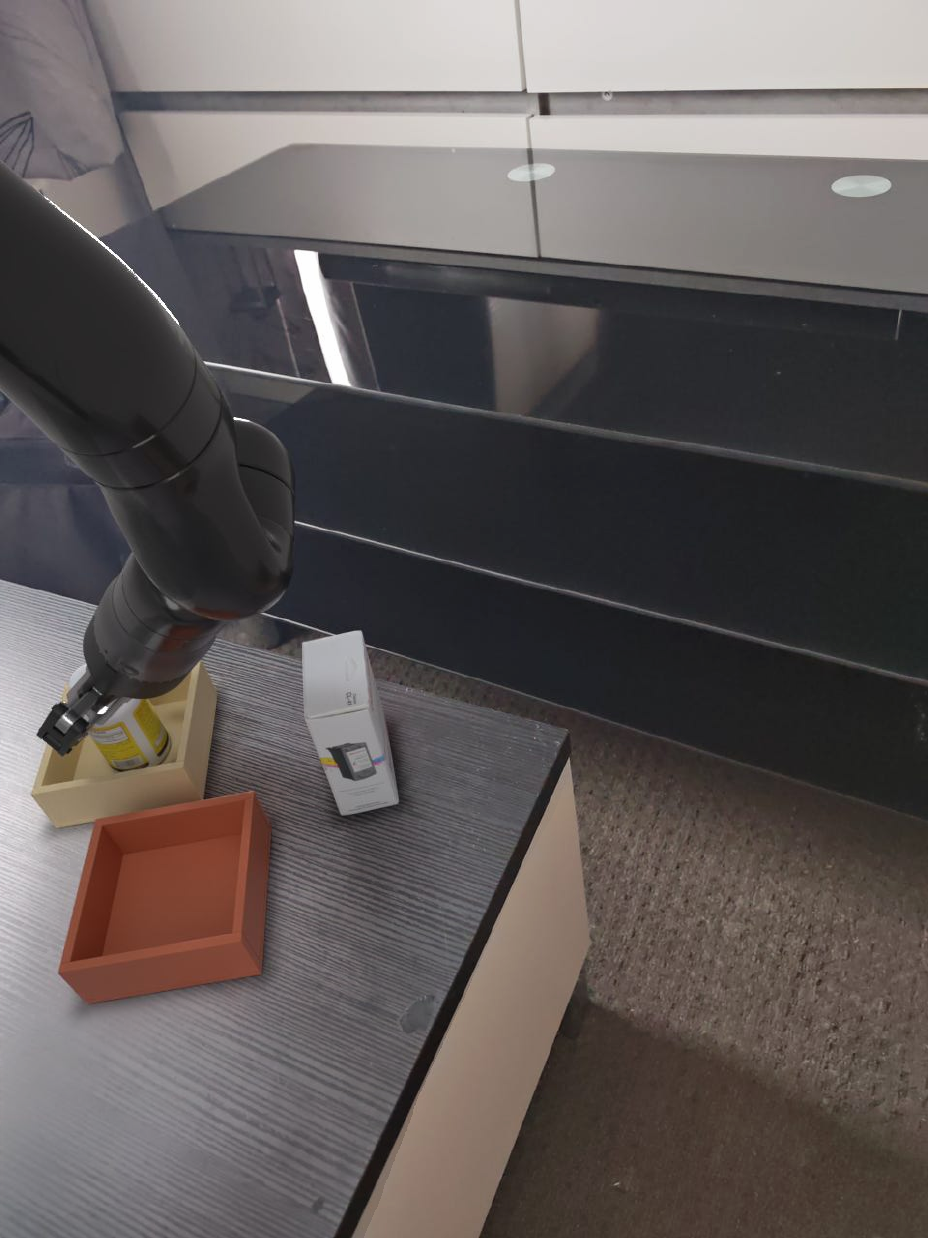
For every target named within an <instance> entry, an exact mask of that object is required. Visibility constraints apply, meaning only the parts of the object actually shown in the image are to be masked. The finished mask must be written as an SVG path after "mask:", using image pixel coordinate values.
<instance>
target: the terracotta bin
mask: <svg viewBox="0 0 928 1238" xmlns="http://www.w3.org/2000/svg"><path fill="white" fill-rule="evenodd" d="M272 829H273V828H272V823H271V821H270V820H269V818H268V816H267V814H266V812H265V810H264V808H263V806H262V804H261V802H260V799H259V798H258V796H257V794H256V792H255V790H252V791H245V792H240V793H235V794H234V793H233V794H228V795H223V796H217V797H213V798H207V799H203V800H201V801H195V802H190V803H184V804H178V805H173V806H167V807H162V808H156V809H151V810H145V811H139V812H134V813H128V814H123V815H117V816H111V817H106V818H100V819H96V820H95V821H94V822H93V827H92V831H91V836H90V840H89V843H88V847H87V852H86V855H85V858H84V859H85V860H84V864H83V868H82V872H81V876H80V880H79V884H78V888H77V892H76V896H75V899H74V900H75V901H74V905H73V908H72V913H71V917H70V921H69V924H68V930H67V933H66V938H65V942H64V945H63V950H62V954H61V958H60V962H59V966H58V970H57V974H58V975H59V976H60V978H61V979H62V980H64V981H65V983H66V984H67V985H68V986H69V987H70V988H71V989H72V990H73V991H74V992H75V993H76V995H78V996H79V997H80V999H81V1000H82V1001H83V1002H84V1003H85V1004H86V1005H91V1004H97V1003H103V1002H104V1003H105V1002H108V1001H114V1000H119V999H125V998H132V997H138V996H143V995H150V994H155V993H160V992H166V991H171V990H172V991H173V990H177V989H183V988H184V989H185V988H189V987H195V986H201V985H207V984H212V983H218V982H224V981H229V980H236V979H241V978H247V977H252V976H258V975H262V974H263V962H264V961H263V960H264V944H265V929H266V916H267V915H266V914H267V900H268V887H269V871H270V856H271V842H272Z"/></svg>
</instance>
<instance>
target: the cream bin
mask: <svg viewBox="0 0 928 1238" xmlns="http://www.w3.org/2000/svg"><path fill="white" fill-rule="evenodd" d="M69 691H70V687H69V682H68V683H65V685H64V688H63V691H62V695H61V697H60V701H59V703H60V702H61V701H63V702H65V703H66V704H67V703H68V700H67V697H66V695H67V693H68V692H69ZM218 696H219V693H218V691H217V689H216V687H215V684H214V683H213V680H212V679H211V677H210V675H209V673H208V671H207V668H206V667H205V665H204V662H203V660H202V659H201V660H200V661H199V662H198V664H197V665H196V666H195V667H194V668H193V669H192V670H191V672H190V673H189V674H188V675H187V676H186V677H185V679H184V680H183V681H182V682H181V683H180V684H179V685H178V686H177V687H176V688H174V689H173V690H171V691H170V692H168V693H166V694H164V695H161V696H159V697H155V698H150V699H148V700H149V702H150V703H151V705H152V707H153V708H154V710H155V712H156V714H157V716H158V717H159V719H160V721H161V722H162V724H163V725H164V727H165V729H166V731H167V732H168V734H169V737H170V748H169V751H168V753H167V755H166V756H165V758H164V759H163V760H162V761H161V762H160V763H159V764H158V765H157V766H153V767H147V768H142V769H136V770H130V771H125V772H119V773H117V772H116V771H114V770H113V769H112V767H111V766H110V765H109V763H108V762H107V760H106V759H105V757H104V756H103V755H102V753H101V752H100V750H99V749H98V747H97V746H96V744H95V743H94V741H93V740H92V738H91V737H90V735H89V734H88V736H87V737H86V738H85V739H83V740H82V741H81V742H80V743H79V744H78V745H77V746H73V747H72V749H73V750H72V751H71V752H70V753H69V754H68V755H67V754H65V755H64V756H63V757H62V756H61V755H59V754H58V752H57V751H56V750H55V749H53V748H52V747H51V746H50V745H49V744H47V743H46V745H45V747H44V752H43V755H42V758H41V760H40V765H39V767H38V770H37V773H36V777H35V781H34V782H33V786H32V789H31V792H30V796H31V797H32V799H33V800H34V801H35V802H36V804H37V805H38V806H39V807H40V809H41V810H42V812H43V813H44V814H45V815H46V817H47V818H48V819H49V821H50V822H51V823H52V824H53V826H54V827H55V828H56V829H62V828H67V827H72V826H76V825H82V824H88V823H95V820H96V819H100V818H106V817H111V816H117V815H123V814H128V813H134V812H139V811H145V810H151V809H156V808H162V807H167V806H173V805H178V804H184V803H190V802H195V801H201V800H204V797H205V790H206V781H207V775H208V768H209V760H210V754H211V752H210V751H211V745H212V738H213V732H214V726H215V725H214V724H215V717H216V712H217V711H216V710H217V704H218V703H217V702H218Z"/></svg>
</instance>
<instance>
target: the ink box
mask: <svg viewBox="0 0 928 1238" xmlns="http://www.w3.org/2000/svg"><path fill="white" fill-rule="evenodd" d="M365 641H366V640H365V638H364V633H363V631H362V630H353V631H348V632H343V633H339V634H334V635H329V636H326V637H319V638H315V639H309V640H306V641H303V642H302V643H301V659H302V660H301V661H302V663H301V664H302V693H303V694H302V695H303V716H304V721H305V723H306V726H307V729H308V731H309V734H310V736H311V740H312V742H313V745H314V748H315V750H316V753H317V755H318V758H319V761H320V763H321V766H322V768H323V770H324V774H325V776H326V779H327V782H328V784H329V788H330V790H331V792H332V796H333V798H334V800H335V803H336V806H337V809H338V811H339V814H340V816H341V817H342V816H349V815H350V816H351V815H356V814H359V813H364V812H369V811H373V810H377V809H383V808H387V807H390V806H395V805H398V804H399V803H400V798H399V791H398V786H397V785H398V783H397V780H396V779H397V778H396V772H395V766H394V760H393V755H392V749H391V742H390V735H389V730H388V724H387V720H386V715H385V712H384V708H383V705H382V701H381V697H380V694H379V690H378V687H377V686H378V685H377V682H376V679H375V675H374V671H373V667H372V664H371V661H370V657H369V652H368V648H367V644H366V642H365Z"/></svg>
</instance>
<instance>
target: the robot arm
mask: <svg viewBox="0 0 928 1238" xmlns="http://www.w3.org/2000/svg"><path fill="white" fill-rule="evenodd" d="M0 392H1V393H2V394H3V395H4V396H5V397H6V398H7V399H8V400H9V401H11V403H12V404H14V405H15V407H16V408H17V409H19V410H20V411H21V412H22V413H23V414H24V415H25V416H26V417H27V418H28V419H29V420H30V421H31V422H32V423H33V424H34V425H35V426H36V427H37V428H38V429H39V430H40V431H41V432H42V433H43V434H44V435H45V436H46V437H47V439H49V440H50V441H51V442H52V443H53V444H54V445H55V446H56V447H57V448H58V449H60V451H61V452H62V453H63V454H65V455H66V456H67V457H68V458H69V459H70V460H71V462H72V463H74V464H75V465H76V466H77V467H78V469H80V470H81V471H82V472H83V473H84V474H85V475H86V476H87V477H88V478H89V479H91V481H92V482H93V483H94V484H96V485H97V486H98V487H99V488H100V490H101V492H102V494H103V497H104V499H105V501H106V504H107V506H108V508H109V511H110V513H111V516H113V519H114V521H115V523H116V524H117V526H118V528H119V530H120V532H121V533H122V536H123V537H124V539H125V541H126V543H127V544H128V546H129V548H130V551H131V552H130V554H129V555H128V557H127V559H126V561H125V563H124V565H123V567H122V569H121V571H120V573H119V574H118V575H117V576H116V577H115V578H114V579H113V580H112V581H111V582H110V584H109V585H108V587H107V588H106V589H105V592H104V594H103V595H102V597H101V600H100V601H99V603H98V605H97V607H96V609H95V611H94V613H93V615H92V617H91V619H90V621H89V623H88V624H87V626H86V629H85V632H84V634H83V635H84V636H83V640H82V651H83V652H82V653H83V657H84V661H85V664H87V666H86V672H85V674H84V675H83V676H82V677H81V678H80V679H79V680H78V682H77V683H76V684H75V685H74V686H73V687H72V688H71V689H70V691H69V692H68V693H67V695H66V697H67V700H68V703H67V704H66V703H65V702H63V701H61V700H60V701H61V702H60V701H59V702H58V703H57V702H56V703H55V704H54V705H53V706H52V707H51V710H50V712H49V713H48V714H47V716H46V718H45V719H44V720H43V723H42V725H41V726H40V727H39V728H38V729H37V730H38V731H37V732H36V734H35V735H36V737H37V738H39V739H40V740H42V741H43V742H44V743H46V745H47V744H49V745H50V746H51V747H52V748H53V749H55V750H56V751H57V752H58V754H59V755H61V756H62V757H63V756H64V755H65V754H67V755H68V754H69V753H70V752H71V751H72V750H73V749H72V747H73V746H77V745H78V744H79V743H80V742H81V741H82V740H83V739H85V738H86V737H87V736H88V734H89V733H88V732H89V731H90V730H91V729H92V728H93V726H94V725H95V724H96V725H103V724H104V723H105V722H106V721H107V720H109V719H110V718H111V717H112V716H113V715H114V714H115V713H116V711H117V710H118V709H119V708H120V707H121V706H122V705H123V704H124V703H128V702H129V701H130V700H131V699H150V698H155V697H159V696H161V695H164V694H166V693H168V692H170V691H171V690H173V689H174V688H176V687H177V686H178V685H179V684H180V683H181V682H182V681H183V680H184V679H185V677H186V676H187V675H188V674H189V673H190V672H191V670H192V669H193V668H194V667H195V666H196V665H197V664H198V662H199V661H200V660H202V659H203V658H204V657H205V656H206V655H207V654H208V652H209V650H210V649H211V648H212V646H213V645H214V642H215V641H216V639H217V637H218V634H219V633H220V632H221V631H222V629H223V628H224V627H226V626H227V624H228V623H229V622H236V621H237V622H238V621H244V620H248V619H251V618H253V617H256V616H259V615H261V614H263V613H265V612H266V611H268V610H270V609H271V608H272V607H273V606H275V604H277V603H278V602H279V601H280V600H281V598H282V597H283V595H284V594H286V592H287V591H288V588H289V586H290V583H291V580H292V578H293V577H292V576H293V573H294V564H295V521H296V520H295V519H296V517H295V516H296V474H295V468H294V463H293V460H292V458H291V454H290V452H289V450H287V448H286V446H285V445H284V444H283V442H282V441H281V440H280V439H279V438H278V437H277V435H276V434H274V433H273V432H272V431H270V430H269V429H267V428H266V427H264V426H262V425H260V424H258V423H256V422H254V421H251V420H248V419H244V418H239V417H234V414H233V411H232V408H231V406H230V404H229V401H228V399H227V397H226V395H225V393H224V391H223V390H222V388H221V386H220V385H219V383H218V382H217V380H216V379H215V377H214V375H213V374H212V372H211V371H210V370H209V368H208V366H207V364H206V363H205V362H204V360H203V359H202V357H201V355H200V354H199V352H198V351H197V349H196V348H195V346H194V344H193V343H192V342H191V340H190V339H189V336H187V334H186V332H185V331H184V329H183V328H182V327H181V325H180V324H179V322H178V320H177V319H176V318H175V316H174V315H173V314H172V312H171V311H170V310H169V309H168V308H167V306H166V305H165V303H164V302H163V301H162V300H161V298H160V297H158V295H157V294H156V293H155V292H154V291H153V290H152V289H151V288H150V286H148V285H147V284H146V283H145V282H144V281H143V280H142V279H141V278H140V276H138V274H136V273H135V272H134V271H133V269H131V268H130V267H129V266H128V265H127V264H126V263H125V262H124V261H123V260H122V259H121V258H120V257H119V256H118V255H117V254H115V252H113V251H112V250H111V249H109V247H108V246H106V245H105V244H104V243H103V242H102V241H100V240H99V239H98V238H97V237H96V236H95V235H93V234H92V233H91V232H90V231H88V230H87V229H86V228H84V227H83V226H82V225H81V224H80V223H78V222H77V221H76V220H74V219H73V218H72V217H71V216H70V215H68V214H67V213H66V212H65V211H63V210H62V209H61V208H60V207H58V206H57V205H56V204H55V203H53V202H52V201H51V200H50V199H49V198H48V197H46V196H45V195H44V194H42V193H41V192H40V191H39V190H37V189H36V187H34V186H33V185H31V184H30V183H29V182H28V181H27V180H25V179H24V178H23V177H22V176H21V175H19V174H18V173H17V172H15V171H14V170H13V169H12V168H11V167H10V166H9V165H8V164H7V163H6V162H5V161H3V160H2V159H1V158H0ZM116 699H117V700H116ZM114 700H116V701H115V702H114V703H113V704H112V705H111V706H110V707H105V706H107V705H108V704H110V703H111V702H113V701H114ZM85 714H86V715H87V716H88V718H89V721H86V720H85V719H84V718H83V717H84V716H85Z"/></svg>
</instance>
